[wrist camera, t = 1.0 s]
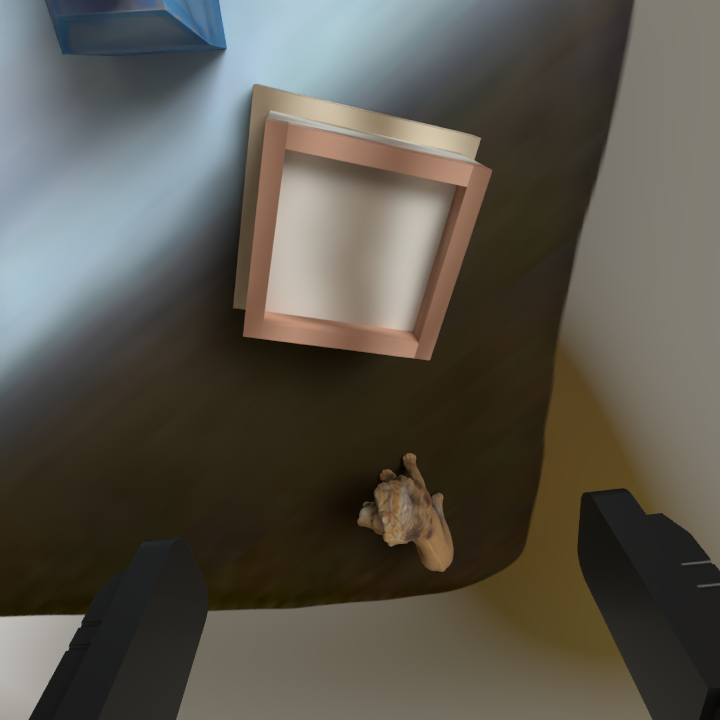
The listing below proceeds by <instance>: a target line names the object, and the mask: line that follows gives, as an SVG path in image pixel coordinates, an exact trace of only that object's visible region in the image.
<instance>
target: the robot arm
mask: <svg viewBox="0 0 720 720" xmlns="http://www.w3.org/2000/svg"><path fill="white" fill-rule="evenodd" d="M578 558H579V563H580V566H581V570H582V573H583V576H584V579H585V581H586V583H587V585H588V587H589V589H590V591H591V593H592V596H593V598H594V600H595V602H596V604H597V606H598V608H599V610H600V612H601V614H602V616H603V618H604V620H605V622H606V624H607V626H608V629H609V631H610V633H611V635H612V637H613V639H614V641H615V643H616V645H617V647H618V649H619V651H620V653H621V655H622V657H623V660H624V662H625V664H626V666H627V668H628V670H629V672H630V674H631V676H632V678H633V680H634V682H635V684H636V686H637V688H638V690H639V692H640V695H641V697H642V699H643V701H644V703H645V705H646V707H647V709H648V711H649V713H650V715H651V717H652V719H653V720H720V571H719V569H718V568H717V567H716V565H714V564H712V563H711V561H710V558H709V557H708V555H707V554H706V553H705V551H704V550H703V549H702V548H701V547H700V545H699V544H698V543H697V541H696V540H695V539H694V538H693V536H692V535H691V534H690V533H689V532H688V531H686V530H685V529H683V528H682V527H681V526H679V525H677V524H676V523H675V522H673V521H672V520H671V519H669V518H668V517H666V516H665V515H663V514H662V513H660V514H651V515H646V514H645V512H644V511H643V509H642V508H641V507H640V505H639V504H638V502H637V501H636V500H635V498H634V497H633V496H632V494H631V493H630V492H629V491H628V490H627V489H623V488H622V489H612V490H603V491H595V492H586V493H583V495H582V498H581V507H580V520H579V533H578ZM207 612H208V591H207V587H206V584H205V582H204V579H203V577H202V575H201V572H200V570H199V568H198V565H197V563H196V561H195V558H194V556H193V554H192V551H191V549H190V547H189V545H188V543H187V541H186V540H185V539H184V538H182V537H179V538H170V539H162V540H153V541H146V542H144V543H143V544H142V545H141V546H140V547H139V549H138V551H137V553H136V555H135V557H134V559H133V561H132V563H131V565H130V567H129V569H128V570H127V571H119V572H117V573H116V575H115V576H114V577H113V578H112V579H111V580H110V581H109V582H108V583H107V584H106V585H105V586H104V587H103V588H102V590H101V591H100V592H99V593H98V594H97V595H96V596H95V598H94V600H93V602H92V604H91V606H90V607H89V609H88V611H87V613H86V615H85V617H84V619H83V620H82V626H81V628H78V630H77V632H76V633H75V635H74V637H73V639H72V641H71V642H70V644H69V650H68V651H66V652H65V654H64V655H63V657H62V659H61V661H60V663H59V665H58V666H57V668H56V670H55V672H54V674H53V676H52V678H51V679H50V681H49V683H48V685H47V687H46V689H45V691H44V692H43V694H42V696H41V698H40V700H39V702H38V703H37V705H36V707H35V709H34V711H33V713H32V715H31V716H30V718H29V720H176V717H177V714H178V711H179V708H180V704H181V701H182V698H183V694H184V691H185V688H186V684H187V681H188V678H189V674H190V671H191V668H192V664H193V661H194V658H195V654H196V651H197V647H198V644H199V641H200V637H201V634H202V631H203V628H204V624H205V621H206V617H207Z"/></svg>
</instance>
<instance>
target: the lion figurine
mask: <svg viewBox="0 0 720 720" xmlns="http://www.w3.org/2000/svg"><path fill="white" fill-rule="evenodd" d="M402 459H403V462H404V463H403V465H404V467H405V468H406V470H407V471H408V473H409V476H410V478H407V477H405V476H403V475H399V476H398V477H396V475H395V474H394V473H393V472H392V471H391V470H389V469H385V470H383V471H382V472H381V473H380V479H381V480H384V481H386V482H382V483H381V484H379V485H378V487H377V488H376V489H375V491H374V497H375V501H374V502H364V504H363V509H361V510H360V514H359V519H358V525H360V526H364V527H368V528H371V529H373V530H374V532H375V533H377V534H380V535H383V539H384V541H385V542H388V545H389V546H391V547H392V546H394V545H396V544H404V543H408V542H409V541H413V542H414V543H415V544H416V547H417V550H418V553H419V556H420V558H421V561H422V563H423V564H424V566H425V567H426V568H428V569H429V570H431V571H440V572H443V571H444V570H445V569H446V568H447V567H448V566H449V565H450V564H451V562H452V559H453V544H452V538H451V534H450V533H451V532H450V531H449V528H448V526H447V524H446V521H445V519H444V514H443V508H442V502H443V495H442V494H441V493H436V494H434V495H432V497H430V494H429V492H428V491H427V490H426V487H425V483H424V480H423V478H422V476H421V474H420V472H419V470H418V469H417V466H416V456H415V454H412V453H407V454H405V455H404V456H403V457H402ZM432 503H433V505H434V508H433V506H432Z"/></svg>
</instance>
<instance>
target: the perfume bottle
mask: <svg viewBox="0 0 720 720" xmlns="http://www.w3.org/2000/svg"><path fill="white" fill-rule="evenodd" d="M45 1H46V4H47V7H48V10H49V14H50V17H51V20H52V23H53V26H54V29H55V32H56V35H57V39H58V42H59V45H60V48H61V51H62V54H74V55H97V56H116V55H132V54H148V53H164V52H179V51H195V50H211V49H227V47H226V41H225V35H224V29H223V23H222V17H221V11H220V5H219V0H45Z"/></svg>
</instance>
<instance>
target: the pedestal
mask: <svg viewBox="0 0 720 720" xmlns="http://www.w3.org/2000/svg"><path fill="white" fill-rule="evenodd" d="M480 140H481V138H479V137H476V136H474V135H471V134H468V133H463V132H459V131H455V130H451V129H446V128H442V127H438V126H433V125H429V124H425V123H421V122H416V121H412V120H408V119H404V118H399V117H395V116H391V115H387V114H382V113H378V112H374V111H370V110H365V109H361V108H357V107H352V106H348V105H344V104H340V103H335V102H331V101H327V100H323V99H318V98H314V97H310V96H306V95H301V94H297V93H293V92H289V91H284V90H280V89H276V88H272V87H267V86H263V85H259V84H255V85H253V96H252V107H251V118H250V129H249V140H248V151H247V162H246V172H245V183H244V194H243V205H242V216H241V227H240V238H239V249H238V260H237V271H236V282H235V293H234V304H233V308H237V309H244V310H246V313H245V322H244V332H243V337H251V338H258V339H266V340H274V341H282V342H290V343H298V344H306V345H314V346H321V347H329V348H337V349H345V350H353V351H361V352H369V353H377V354H385V355H392V356H400V357H408V358H416V359H424V360H430V358H431V355H432V352H433V349H434V346H435V343H436V340H437V337H438V334H439V331H440V328H441V325H442V322H443V319H444V316H445V313H446V310H447V307H448V304H449V301H450V298H451V295H452V292H453V288H454V285H455V282H456V279H457V276H458V273H459V270H460V267H461V264H462V261H463V258H464V255H465V252H466V249H467V246H468V243H469V240H470V237H471V234H472V231H473V228H474V225H475V222H476V219H477V216H478V213H479V209H480V206H481V203H482V200H483V197H484V194H485V191H486V188H487V185H488V182H489V179H490V176H491V173H492V170H491V169H489V168H487V167H485V166H484V165H482V164H480V163H478V162H476V161H474V159H475V156H476V153H477V149H478V146H479V143H480Z"/></svg>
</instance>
